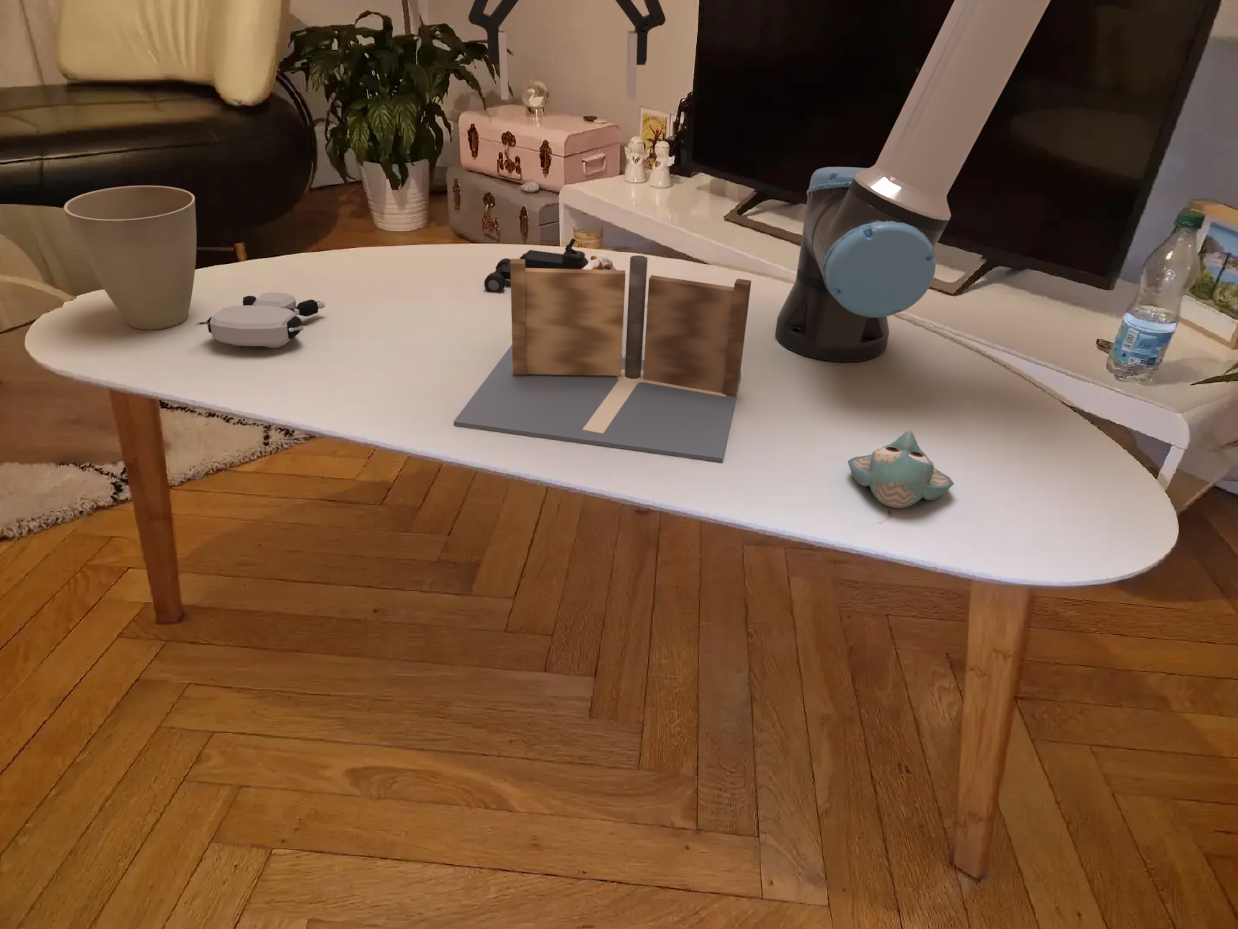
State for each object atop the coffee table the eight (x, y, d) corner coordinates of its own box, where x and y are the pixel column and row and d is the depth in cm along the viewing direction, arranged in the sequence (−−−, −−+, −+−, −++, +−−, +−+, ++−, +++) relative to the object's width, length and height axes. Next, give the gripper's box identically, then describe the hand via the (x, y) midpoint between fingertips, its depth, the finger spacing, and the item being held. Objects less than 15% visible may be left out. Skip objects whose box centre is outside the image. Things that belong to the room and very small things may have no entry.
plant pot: (75, 319, 124) (42, 199, 116) (182, 291, 134) (158, 179, 126) (129, 352, 116) (97, 226, 108) (238, 320, 126) (217, 202, 118)
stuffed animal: (965, 423, 98) (965, 457, 87) (949, 486, 100) (947, 527, 89) (862, 403, 101) (849, 434, 90) (849, 465, 103) (835, 502, 92)
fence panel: (620, 370, 115) (625, 261, 108) (620, 376, 114) (625, 266, 107) (513, 368, 115) (511, 258, 107) (512, 374, 113) (510, 263, 106)
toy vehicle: (580, 306, 138) (583, 248, 133) (481, 293, 139) (481, 235, 134) (590, 287, 145) (593, 231, 140) (496, 274, 146) (496, 219, 141)
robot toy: (245, 317, 130) (195, 354, 116) (241, 285, 128) (190, 319, 114) (332, 322, 129) (292, 360, 116) (329, 290, 127) (288, 325, 114)
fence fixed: (622, 381, 115) (628, 259, 107) (627, 374, 116) (633, 254, 108) (734, 401, 111) (749, 277, 103) (737, 394, 113) (752, 271, 105)
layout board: (740, 375, 118) (741, 371, 117) (722, 462, 99) (722, 457, 99) (512, 347, 122) (512, 343, 122) (453, 425, 104) (453, 420, 103)
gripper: (687, -133, 94) (677, 91, 105) (437, -138, 92) (453, 91, 103) (700, -135, 88) (687, 103, 99) (431, -141, 85) (449, 103, 96)
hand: (568, 97), depth 101 cm, fingers open, 13 cm apart
